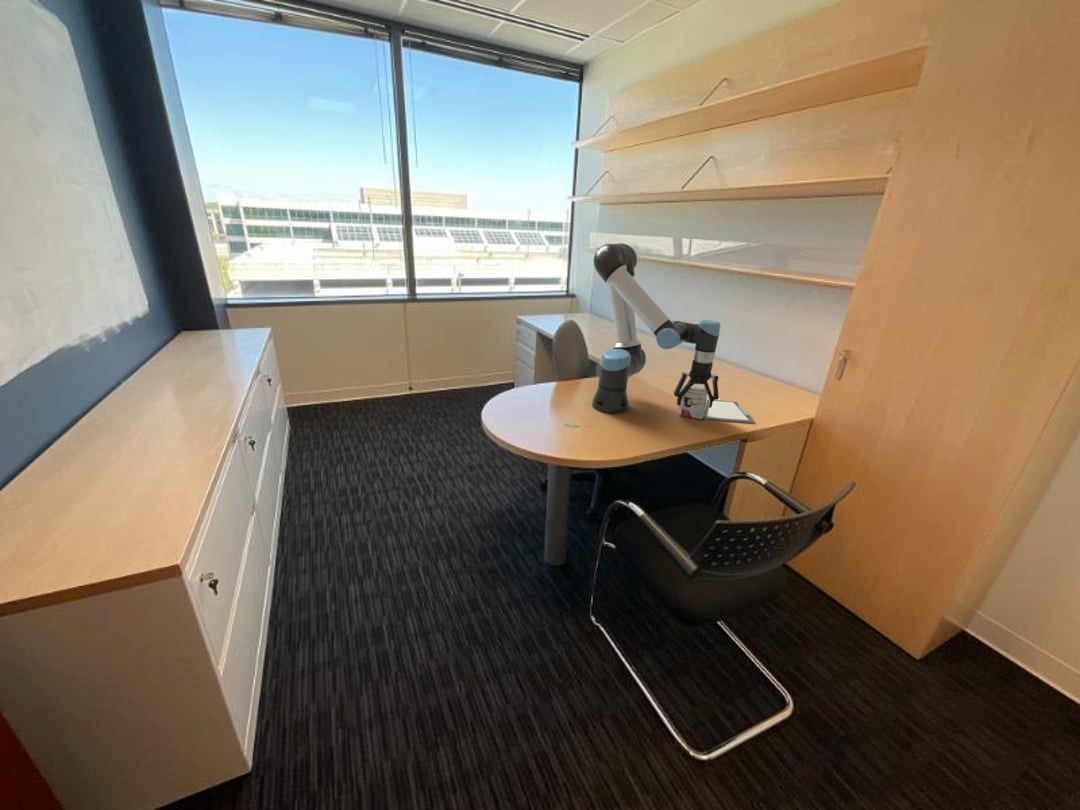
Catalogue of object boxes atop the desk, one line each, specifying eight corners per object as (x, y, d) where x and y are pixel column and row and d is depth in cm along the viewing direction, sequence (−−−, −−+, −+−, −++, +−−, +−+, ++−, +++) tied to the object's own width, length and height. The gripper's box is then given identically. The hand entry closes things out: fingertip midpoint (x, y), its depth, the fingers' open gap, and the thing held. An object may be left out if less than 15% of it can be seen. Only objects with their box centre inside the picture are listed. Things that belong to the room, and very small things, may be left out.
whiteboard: (703, 419, 177) (704, 417, 176) (690, 399, 197) (691, 397, 196) (754, 423, 176) (755, 420, 175) (736, 403, 196) (736, 400, 196)
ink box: (680, 415, 179) (683, 388, 175) (682, 411, 183) (685, 384, 179) (702, 419, 176) (706, 391, 171) (704, 415, 180) (708, 387, 175)
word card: (703, 399, 198) (703, 398, 198) (700, 395, 203) (700, 394, 203) (721, 400, 198) (721, 399, 198) (718, 396, 202) (718, 395, 202)
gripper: (675, 361, 168) (666, 415, 176) (735, 365, 167) (723, 419, 175) (671, 356, 175) (662, 407, 183) (729, 360, 174) (717, 412, 182)
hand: (692, 413), depth 179 cm, fingers closed on ink box, 10 cm apart
